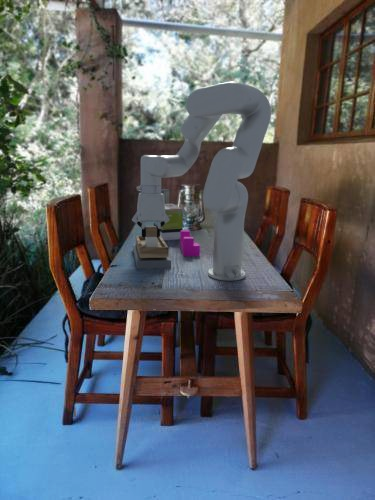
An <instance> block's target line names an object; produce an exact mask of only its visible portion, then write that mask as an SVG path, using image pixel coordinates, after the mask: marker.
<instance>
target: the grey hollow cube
mask: <svg viewBox="0 0 375 500" xmlns="http://www.w3.org/2000/svg"><path fill="white" fill-rule="evenodd" d="M161 193H162V194H163V195H164V202H165V204H170V189H167V188H161Z"/></svg>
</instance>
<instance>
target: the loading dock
mask: <svg viewBox="0 0 375 500" xmlns="http://www.w3.org/2000/svg"><path fill="white" fill-rule="evenodd" d="M132 252H133V256H134V261H135V266H136V270H148V269H149V270H151V269H154V268H159V269H172V260H171V257H170V256H169V257H162V258H140V256H139V253H138V250H137V247H136V242H133V243H132Z"/></svg>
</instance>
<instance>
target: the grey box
mask: <svg viewBox="0 0 375 500" xmlns="http://www.w3.org/2000/svg"><path fill="white" fill-rule="evenodd" d="M146 247H158V238H157V237H145V248H146Z"/></svg>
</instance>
